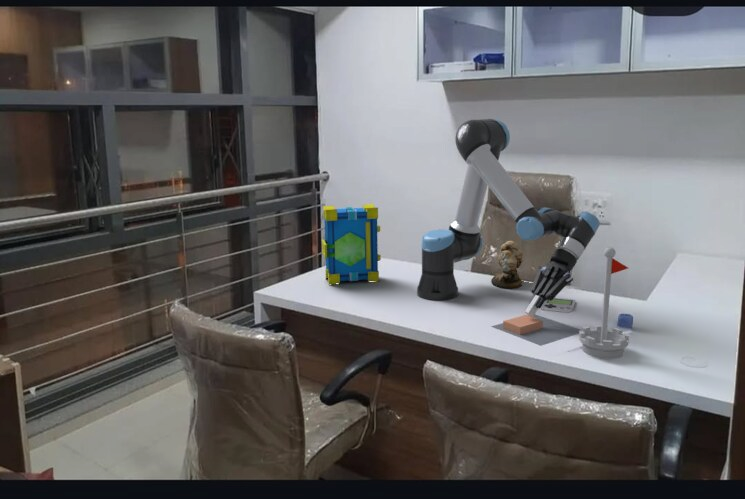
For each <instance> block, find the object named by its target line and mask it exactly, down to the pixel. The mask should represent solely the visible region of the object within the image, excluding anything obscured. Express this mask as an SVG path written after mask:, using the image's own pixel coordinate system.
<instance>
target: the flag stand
mask: <svg viewBox="0 0 745 499" xmlns="http://www.w3.org/2000/svg"><path fill="white" fill-rule="evenodd" d="M616 253H617V252H616V249H614V248H613V247H606V248H605V249H604V251H603V254H604V257H606V259H605V260H606V261H605V272H604V273H605V274H604V285H603V286H604V287H603V288H604V289H603V301H602V302H603V303H602V314H601V316H602V317H601V325H595V329H593V328H592V329H591V327H590V326H588V325H586V326H583V327H581V330H582V331H579V335H578V340H579V342H580V343H581V344H582V346H581V348H582V349H581V350H582V352H583V353H584V354H586V355H587V356H590V357H593V358H598V359H603V360H604V359H606V360H610V359H612V360H613V359H614V360H615V359H618V358H621V357H623V356H624V355H625V354H624V352H625V351H624V350H625V349H626V348H627V347H628V346H629V343H630V342H629V341H630V340H629V339H630V335H629V333H628V332H624V333H623V330H622V329H621V328H617V327H613V328H612V330H610V329H608V324H609V322H608V321H609V310H610V297H611V296H610V295H611V284H612V283H611V282H612V274H616V273H618V272H622V271H625V270H627V269H628V270H629V267H628V266H626V265H624V264H623V263H621V262H619V261H618V260H617V259H615V258H614V257H615V256H616Z"/></svg>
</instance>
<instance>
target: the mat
mask: <svg viewBox="0 0 745 499" xmlns="http://www.w3.org/2000/svg"><path fill="white" fill-rule="evenodd" d="M533 317H534V318H536V319H539V320H542V321H543V328H541V329H538V330H534V331H531V332H528V333H524V334H521V335H519V334H516V333H514V332H511V331H509V330H506V329H503V322H502V323H498V324H494V325H491V327H492V328H494V329H496V330H498V331H502V332H505V333H507V334H509V335H512V336H515V337H517V338H520V339H521V340H525V341H528V342H530V343H533V344H535V345H538V346H541V347H542V346H544V345H547V344H550V343H553V342H554V343H555V342H556V341H560V340H564V339H565V338H570V337H572V336H575V335H578V334H579V331H582V329H580V328H578V327H575V326H571V325H569V324H565V323H562V322H559V321H557V320H553V319H550V318H548V317H545V316H541V315H539V314H536V313H535V314H534V316H533Z"/></svg>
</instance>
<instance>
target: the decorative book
mask: <svg viewBox="0 0 745 499" xmlns="http://www.w3.org/2000/svg"><path fill="white" fill-rule="evenodd" d="M322 207H323V220H324V221H323V222H324V239H323V238H322V239H321V253H322V255H323V257H324V259H325V269H324V271H325V272H324V273H325V275H324V276H325V279H326V278H328V279H327V281H328V285H329V284H336V283H340V282H346V281H349V282H358V281H360V280H367V282H368V281H379V282H380V274H379V273H380V272H379V264H378V263H379V261H381V260H382V257H381V254H379V253H378V252H379V251H378V249H379V248H378V246H379V245H378V233H380V232H381V225H379V224H378V219H379V207H375V204H374V203H371V204H362V207H357V208H356V207H354V206H345V207H344V208H335V205H326V206H325V205H324V206H322ZM340 284H341V283H340Z"/></svg>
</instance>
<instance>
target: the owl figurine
mask: <svg viewBox="0 0 745 499" xmlns="http://www.w3.org/2000/svg"><path fill="white" fill-rule="evenodd" d="M497 258H498V259H497V261H498V262H497V264H498V267H500V268H501V270H502V272H501V273H495V274H494V275H493V277H492V278H491V281H490V282H491V284H492V285H493V286H494V287H495V288H500V289H503V290H505V289H506V290H513V289H514V290H515V289H519V288H520V287H522V285H523V280H522V278H520V275H519V274H518V269H519V268H520V267H521V264H522V263H523V251H522V250H521V249H520V246H519V244H518V243H517V242H516V241H513V240H506V241H505V243H503V244H501V247H500V251H499V253H498V256H497Z"/></svg>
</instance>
